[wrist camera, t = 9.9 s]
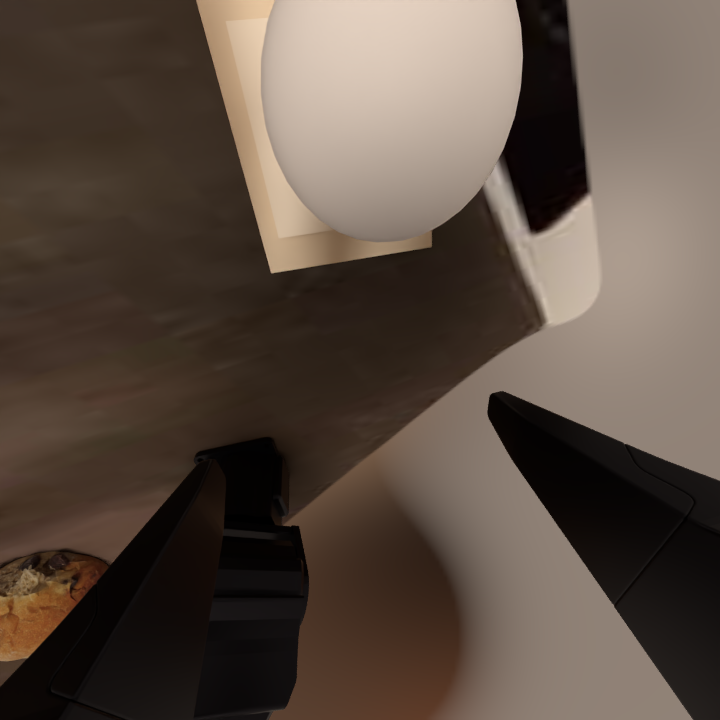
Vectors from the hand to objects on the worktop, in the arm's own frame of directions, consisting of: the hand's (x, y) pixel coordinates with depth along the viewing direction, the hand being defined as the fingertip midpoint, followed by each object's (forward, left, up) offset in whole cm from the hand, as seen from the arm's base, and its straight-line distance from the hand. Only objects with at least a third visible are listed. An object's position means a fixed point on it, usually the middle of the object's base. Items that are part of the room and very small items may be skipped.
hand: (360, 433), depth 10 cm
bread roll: (-32, -24, -13) cm, 42 cm away
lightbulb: (+2, +8, -11) cm, 14 cm away
